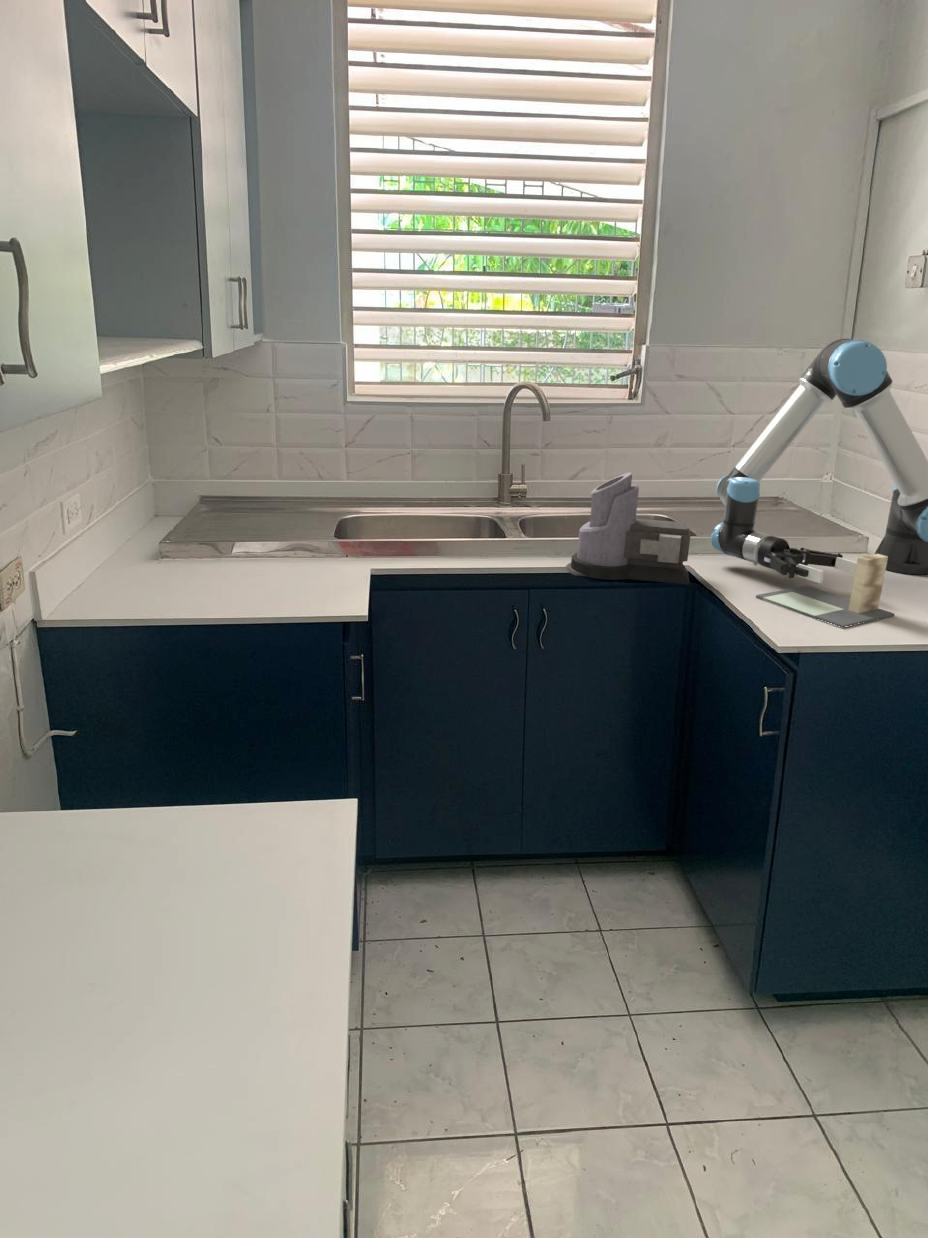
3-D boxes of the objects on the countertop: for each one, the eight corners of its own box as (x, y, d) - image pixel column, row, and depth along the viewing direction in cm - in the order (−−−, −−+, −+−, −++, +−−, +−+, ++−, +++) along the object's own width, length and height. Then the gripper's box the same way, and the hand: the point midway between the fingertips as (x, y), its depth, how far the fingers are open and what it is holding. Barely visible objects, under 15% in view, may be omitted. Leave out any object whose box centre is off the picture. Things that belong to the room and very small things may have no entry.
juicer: (562, 575, 224) (570, 474, 216) (568, 558, 239) (576, 463, 231) (690, 587, 219) (703, 484, 211) (688, 569, 234) (700, 472, 226)
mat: (807, 587, 222) (807, 585, 222) (894, 616, 204) (894, 613, 204) (755, 597, 213) (756, 595, 213) (842, 628, 195) (842, 625, 195)
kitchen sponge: (867, 605, 209) (877, 553, 205) (877, 608, 207) (888, 556, 203) (847, 609, 205) (857, 557, 201) (858, 613, 203) (868, 560, 199)
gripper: (798, 559, 233) (873, 582, 216) (728, 571, 220) (802, 596, 203) (803, 530, 230) (879, 551, 214) (732, 540, 218) (807, 563, 201)
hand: (841, 573), depth 208 cm, fingers open, 13 cm apart
